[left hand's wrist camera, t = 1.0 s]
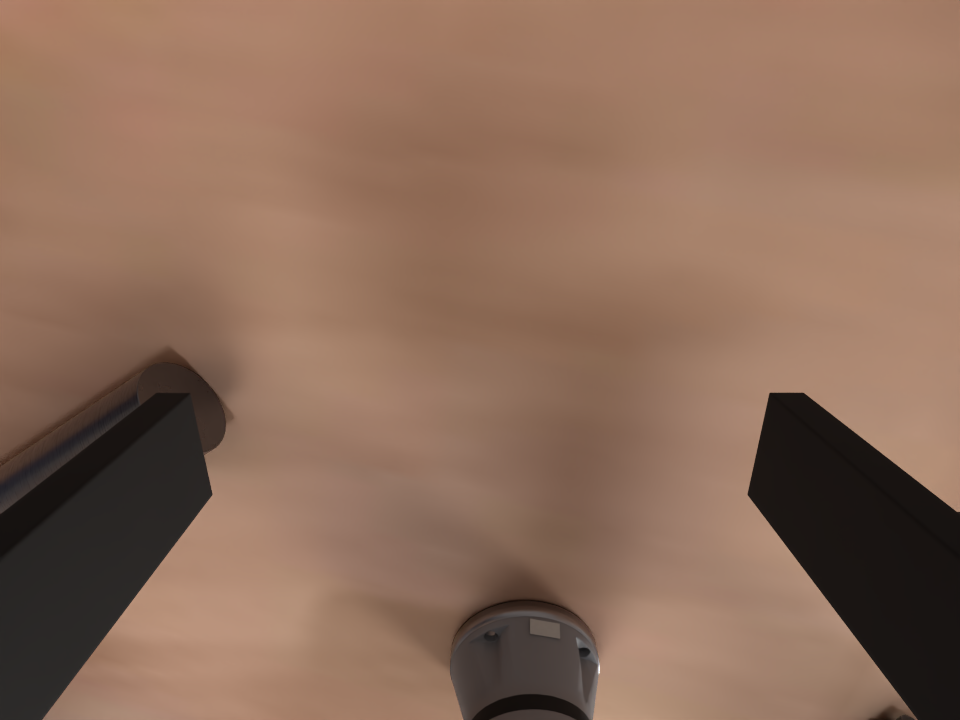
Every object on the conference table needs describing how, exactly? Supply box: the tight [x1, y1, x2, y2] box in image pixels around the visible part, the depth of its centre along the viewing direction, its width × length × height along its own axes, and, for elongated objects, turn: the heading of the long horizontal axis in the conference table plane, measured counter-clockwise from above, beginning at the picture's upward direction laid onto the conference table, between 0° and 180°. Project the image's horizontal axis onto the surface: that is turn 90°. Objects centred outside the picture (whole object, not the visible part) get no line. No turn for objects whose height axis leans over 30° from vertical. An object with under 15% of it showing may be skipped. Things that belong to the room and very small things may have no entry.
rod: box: [0, 363, 226, 514], centre depth 45 cm, size 27×8×8 cm, turn 122°
